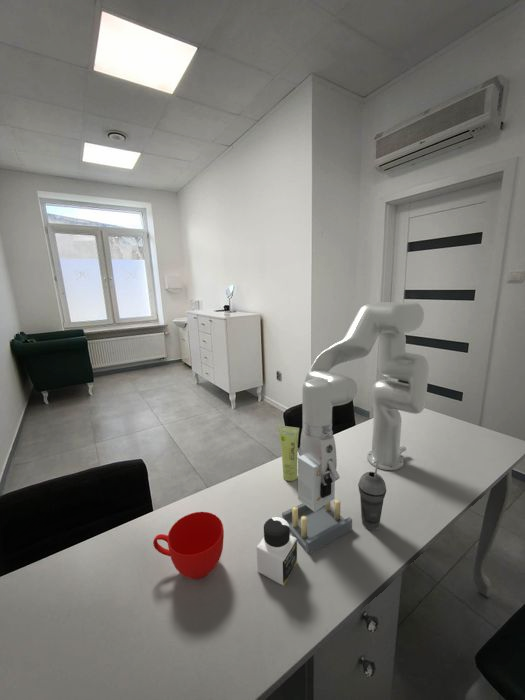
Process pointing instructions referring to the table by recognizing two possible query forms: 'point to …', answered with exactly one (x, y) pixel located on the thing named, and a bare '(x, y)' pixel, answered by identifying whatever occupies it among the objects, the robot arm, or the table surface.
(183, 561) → the ceramic cup
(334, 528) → the pin tray
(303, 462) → the small box
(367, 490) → the beverage cup
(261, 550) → the medicine bottle
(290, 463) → the tube
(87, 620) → the table surface
